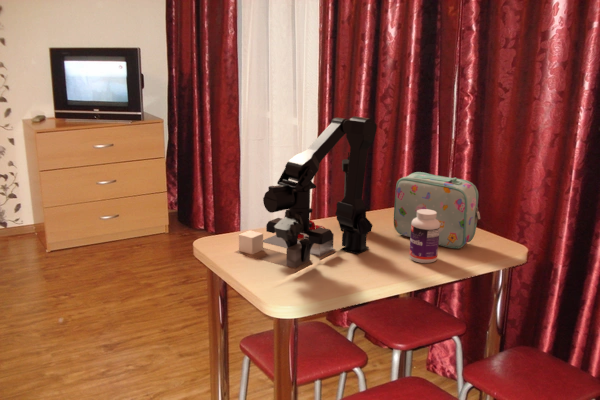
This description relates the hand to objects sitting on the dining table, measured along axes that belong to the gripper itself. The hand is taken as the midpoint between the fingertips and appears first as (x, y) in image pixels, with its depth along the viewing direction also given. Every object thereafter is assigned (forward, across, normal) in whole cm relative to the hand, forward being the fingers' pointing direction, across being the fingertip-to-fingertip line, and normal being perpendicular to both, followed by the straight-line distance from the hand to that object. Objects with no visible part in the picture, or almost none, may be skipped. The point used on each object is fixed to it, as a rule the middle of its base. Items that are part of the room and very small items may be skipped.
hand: (298, 260), depth 175 cm
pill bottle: (+2, +25, +27) cm, 37 cm away
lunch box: (+2, +20, +45) cm, 50 cm away
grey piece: (+2, -9, +12) cm, 15 cm away
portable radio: (+2, -7, +39) cm, 40 cm away
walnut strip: (+2, -9, 0) cm, 9 cm away
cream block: (+1, -17, 0) cm, 17 cm away
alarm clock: (+2, -15, +23) cm, 27 cm away
